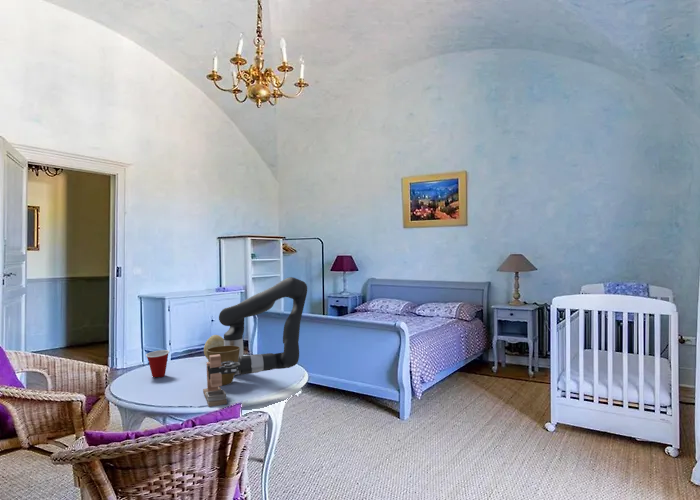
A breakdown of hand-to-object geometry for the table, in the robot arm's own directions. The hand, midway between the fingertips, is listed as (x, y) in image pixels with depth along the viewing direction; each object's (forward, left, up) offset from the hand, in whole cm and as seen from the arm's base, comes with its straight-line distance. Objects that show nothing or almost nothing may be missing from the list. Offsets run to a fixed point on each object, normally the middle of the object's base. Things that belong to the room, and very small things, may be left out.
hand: (208, 369), depth 186 cm
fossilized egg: (-73, +12, -13) cm, 75 cm away
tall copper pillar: (0, +3, -7) cm, 7 cm away
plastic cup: (-56, -18, -13) cm, 60 cm away
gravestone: (-6, +3, -13) cm, 15 cm away
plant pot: (-27, +10, -13) cm, 31 cm away
